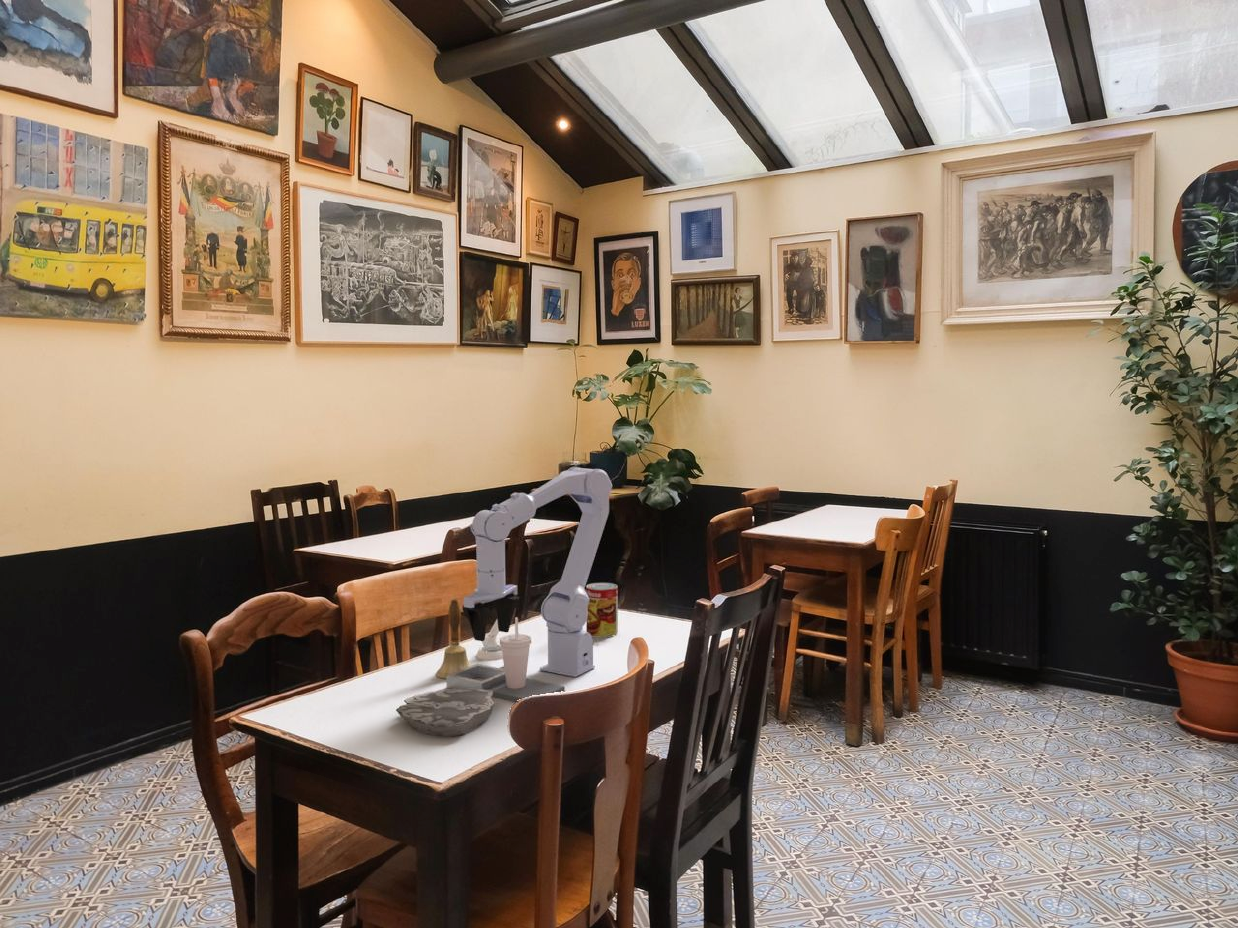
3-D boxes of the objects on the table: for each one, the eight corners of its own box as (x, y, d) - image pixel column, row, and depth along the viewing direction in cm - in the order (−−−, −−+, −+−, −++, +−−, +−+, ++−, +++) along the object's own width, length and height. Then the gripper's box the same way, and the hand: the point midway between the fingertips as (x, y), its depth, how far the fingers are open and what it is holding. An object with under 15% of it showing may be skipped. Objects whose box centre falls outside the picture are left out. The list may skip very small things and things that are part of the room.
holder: (521, 678, 182) (521, 666, 182) (482, 695, 172) (482, 683, 171) (486, 671, 187) (486, 659, 187) (446, 687, 177) (446, 675, 176)
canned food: (582, 630, 220) (581, 584, 219) (610, 627, 223) (610, 581, 223) (593, 638, 213) (592, 590, 212) (622, 635, 216) (622, 587, 215)
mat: (564, 691, 174) (564, 686, 174) (534, 705, 166) (534, 700, 166) (521, 681, 180) (521, 677, 180) (489, 695, 172) (489, 690, 172)
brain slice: (419, 701, 170) (418, 686, 169) (504, 704, 168) (504, 689, 168) (380, 739, 150) (380, 722, 150) (476, 743, 148) (476, 726, 148)
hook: (515, 641, 192) (490, 623, 192) (492, 678, 197) (468, 659, 198) (529, 626, 198) (505, 608, 199) (507, 662, 203) (483, 644, 204)
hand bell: (428, 673, 186) (426, 600, 185) (459, 665, 192) (458, 593, 191) (451, 682, 180) (450, 606, 179) (483, 673, 186) (482, 599, 185)
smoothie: (509, 692, 170) (508, 622, 169) (494, 684, 176) (493, 615, 175) (537, 686, 174) (537, 617, 173) (522, 678, 179) (521, 611, 178)
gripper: (498, 562, 184) (499, 625, 185) (451, 573, 172) (452, 641, 173) (525, 565, 181) (525, 629, 181) (478, 577, 168) (479, 646, 169)
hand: (491, 635), depth 177 cm, fingers open, 7 cm apart
